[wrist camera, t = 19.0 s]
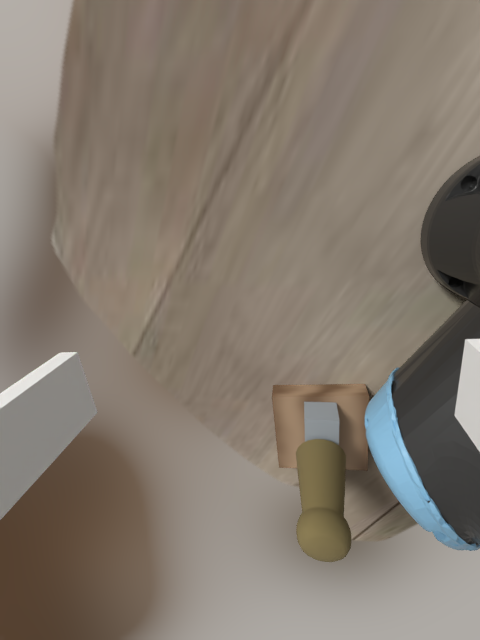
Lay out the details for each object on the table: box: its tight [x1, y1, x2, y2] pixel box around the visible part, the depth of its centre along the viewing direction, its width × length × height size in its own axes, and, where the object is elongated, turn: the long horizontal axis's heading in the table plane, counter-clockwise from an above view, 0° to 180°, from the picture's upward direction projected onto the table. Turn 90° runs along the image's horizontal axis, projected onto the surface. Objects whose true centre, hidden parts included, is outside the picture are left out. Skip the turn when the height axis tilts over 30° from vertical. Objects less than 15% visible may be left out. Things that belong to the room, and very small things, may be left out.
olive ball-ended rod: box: [296, 439, 351, 562], centre depth 35 cm, size 6×6×11 cm
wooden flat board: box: [272, 384, 369, 471], centre depth 45 cm, size 12×12×4 cm
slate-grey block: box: [304, 402, 340, 445], centre depth 42 cm, size 4×11×4 cm, turn 4°
